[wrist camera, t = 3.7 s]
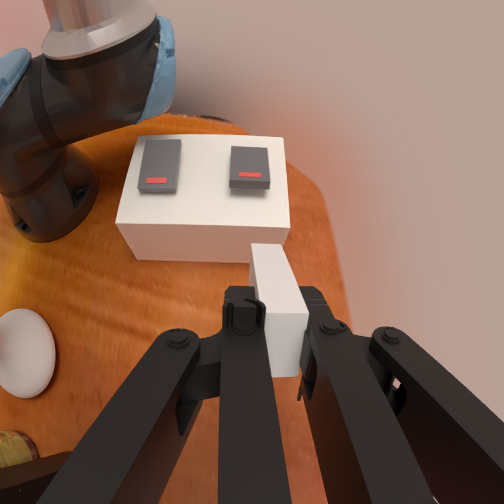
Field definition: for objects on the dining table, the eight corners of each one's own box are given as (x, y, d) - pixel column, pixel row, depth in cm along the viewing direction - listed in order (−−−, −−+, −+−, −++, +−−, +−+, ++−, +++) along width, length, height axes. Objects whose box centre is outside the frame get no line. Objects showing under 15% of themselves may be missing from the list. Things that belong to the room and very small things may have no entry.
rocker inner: (176, 192, 30) (174, 187, 29) (139, 192, 30) (136, 187, 29) (182, 144, 31) (180, 138, 30) (147, 144, 31) (145, 139, 30)
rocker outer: (269, 189, 29) (270, 180, 29) (229, 187, 29) (229, 179, 28) (266, 155, 33) (267, 147, 32) (231, 153, 33) (231, 145, 32)
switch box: (276, 264, 38) (291, 225, 29) (137, 259, 37) (113, 221, 28) (273, 182, 43) (283, 134, 34) (151, 179, 42) (138, 132, 33)
